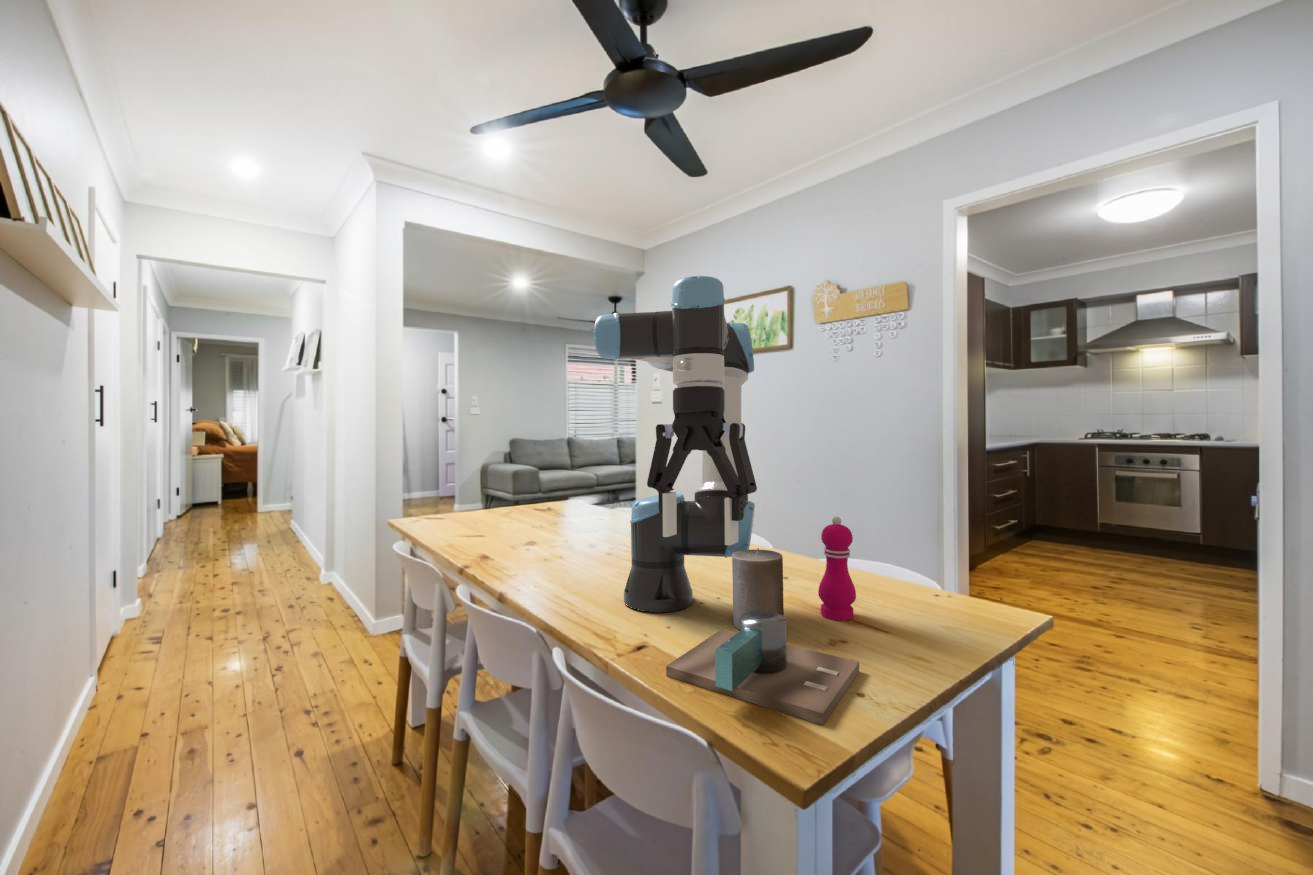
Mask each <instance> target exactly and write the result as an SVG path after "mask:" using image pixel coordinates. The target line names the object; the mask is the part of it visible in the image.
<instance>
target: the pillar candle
mask: <svg viewBox="0 0 1313 875" xmlns="http://www.w3.org/2000/svg"><path fill="white" fill-rule="evenodd" d="M783 558H784V557H783V554H781V553H780V552H778V551H775V550H769V549H760V548H759V547H758V548H756V549H749V550H742V551H737V552H734V553H733V554H732V557H731V562H732V565H731V566H732V573H731V574H732V609H733V612H732V613H733V625H734V627H735V628H736V629H737V630H738V631H740V616H741V615H742V614H744V613H746V612H751V611H768V612H774V613H777V614H780V615H782V616H784V614H785V612H784V611H785V609H784V568H783V567H784V566H783V565H784V560H783ZM784 617H785V616H784Z"/></svg>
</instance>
